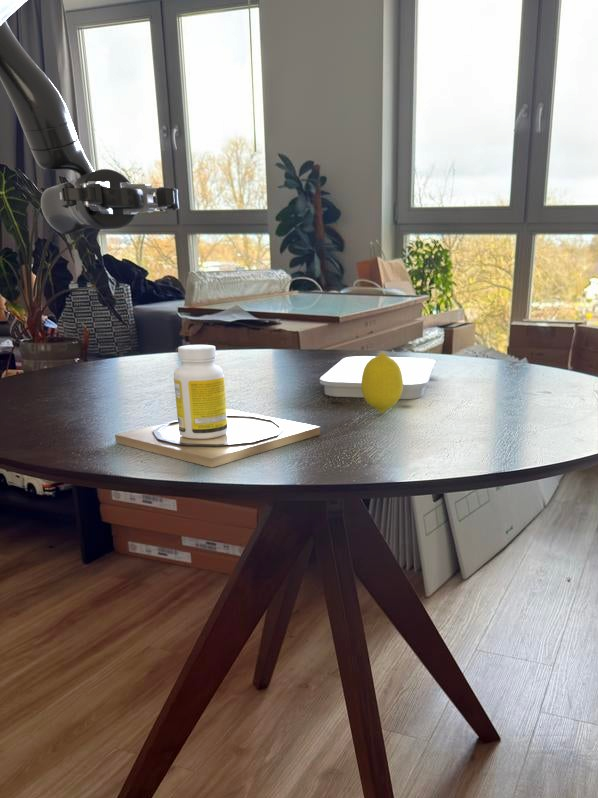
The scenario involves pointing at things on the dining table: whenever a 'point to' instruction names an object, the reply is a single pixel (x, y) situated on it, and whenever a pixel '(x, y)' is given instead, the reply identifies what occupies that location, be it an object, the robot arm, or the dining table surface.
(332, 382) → the white rectangular tray
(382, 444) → the dining table surface
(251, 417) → the mirror board
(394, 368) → the lemon
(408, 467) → the dining table surface
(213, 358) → the supplement bottle
